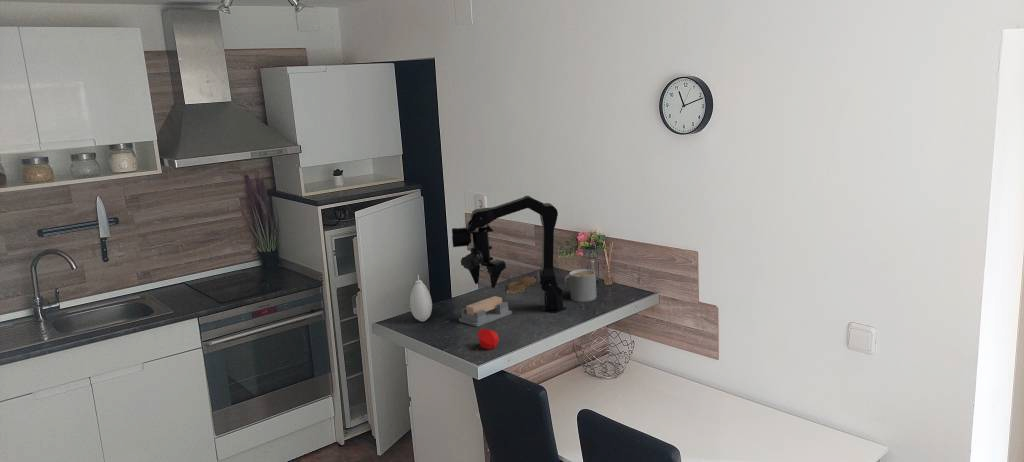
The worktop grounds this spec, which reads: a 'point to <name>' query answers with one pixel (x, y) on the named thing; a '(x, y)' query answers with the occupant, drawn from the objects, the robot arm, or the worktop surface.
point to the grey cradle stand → (485, 315)
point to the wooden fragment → (520, 285)
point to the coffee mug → (582, 285)
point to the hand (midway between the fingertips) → (484, 285)
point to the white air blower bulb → (420, 301)
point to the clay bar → (483, 305)
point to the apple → (488, 339)
